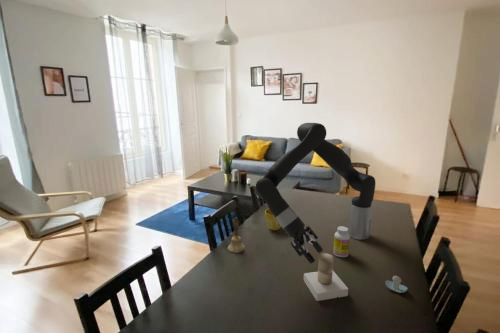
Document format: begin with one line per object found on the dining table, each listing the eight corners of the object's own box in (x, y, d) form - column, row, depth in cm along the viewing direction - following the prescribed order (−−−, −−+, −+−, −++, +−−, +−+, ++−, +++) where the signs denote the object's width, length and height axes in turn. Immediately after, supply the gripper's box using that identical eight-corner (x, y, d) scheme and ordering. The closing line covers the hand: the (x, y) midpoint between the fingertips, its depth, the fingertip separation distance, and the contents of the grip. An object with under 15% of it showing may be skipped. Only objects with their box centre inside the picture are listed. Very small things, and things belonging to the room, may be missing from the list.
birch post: (327, 275, 108) (329, 252, 106) (334, 284, 103) (336, 259, 101) (315, 277, 107) (316, 254, 105) (321, 286, 102) (322, 261, 100)
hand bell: (234, 242, 140) (234, 212, 136) (248, 247, 135) (248, 216, 131) (224, 249, 133) (223, 218, 130) (237, 254, 129) (237, 222, 125)
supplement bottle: (340, 259, 124) (342, 233, 121) (330, 252, 130) (331, 227, 127) (351, 255, 127) (353, 229, 124) (340, 249, 133) (342, 224, 130)
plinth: (331, 276, 113) (332, 269, 112) (347, 295, 101) (348, 288, 100) (303, 280, 110) (303, 273, 109) (316, 301, 99) (317, 293, 98)
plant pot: (262, 230, 153) (262, 213, 150) (268, 222, 162) (268, 206, 160) (280, 233, 149) (280, 216, 146) (285, 225, 158) (285, 209, 156)
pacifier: (387, 281, 109) (383, 289, 105) (389, 267, 108) (385, 274, 103) (408, 289, 105) (405, 297, 100) (410, 274, 103) (407, 282, 99)
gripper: (288, 223, 100) (318, 261, 97) (303, 210, 112) (330, 244, 108) (275, 233, 104) (303, 270, 101) (291, 219, 116) (316, 252, 112)
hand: (317, 256), depth 105 cm, fingers open, 8 cm apart
